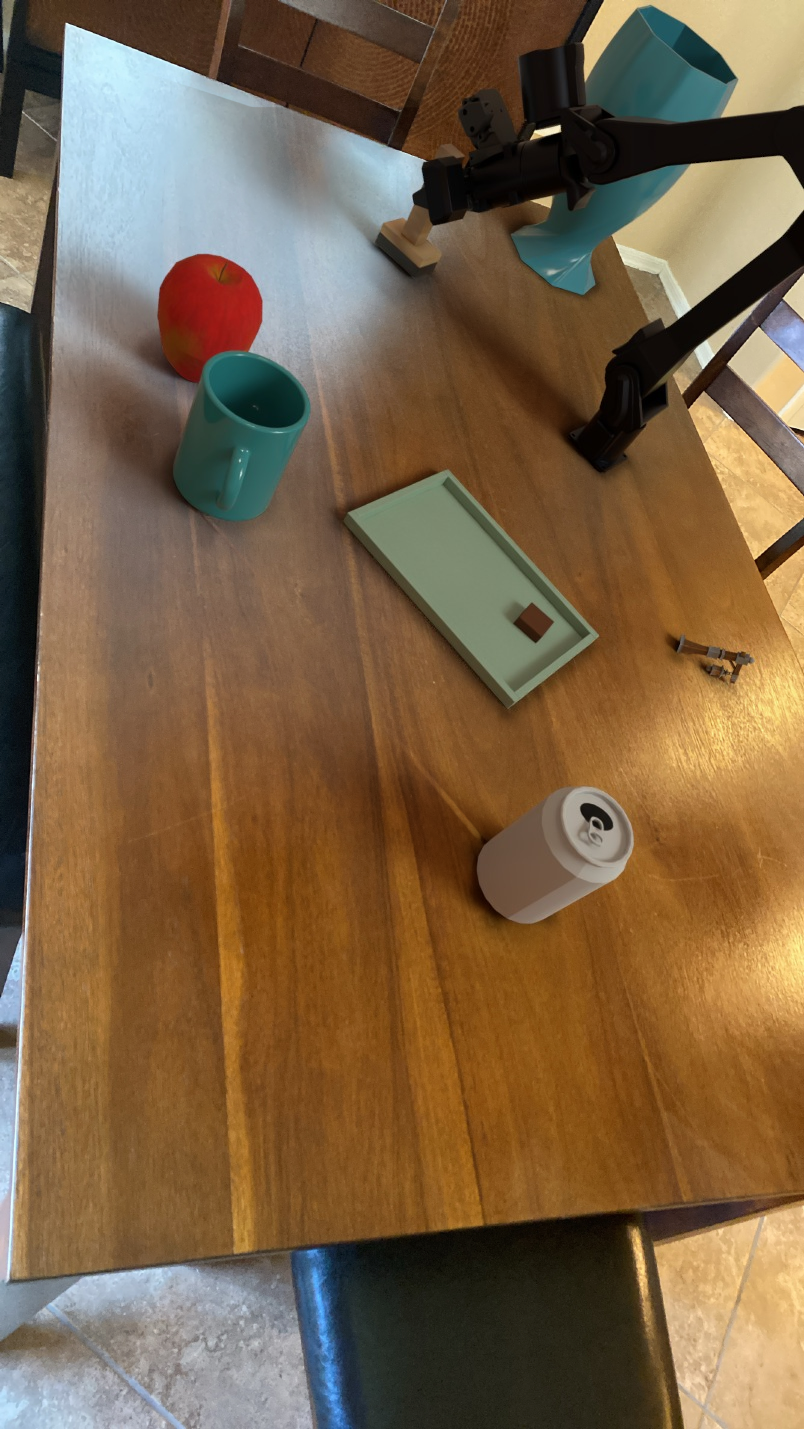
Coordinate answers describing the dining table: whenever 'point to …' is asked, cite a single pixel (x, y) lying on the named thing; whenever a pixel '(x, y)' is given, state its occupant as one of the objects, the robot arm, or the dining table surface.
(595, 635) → the tray
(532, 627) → the crumb
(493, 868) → the can
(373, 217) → the dining table surface
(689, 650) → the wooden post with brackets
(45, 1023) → the dining table surface
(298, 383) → the cup
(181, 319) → the apple
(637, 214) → the vase
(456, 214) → the robot arm
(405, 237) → the brush
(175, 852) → the dining table surface
